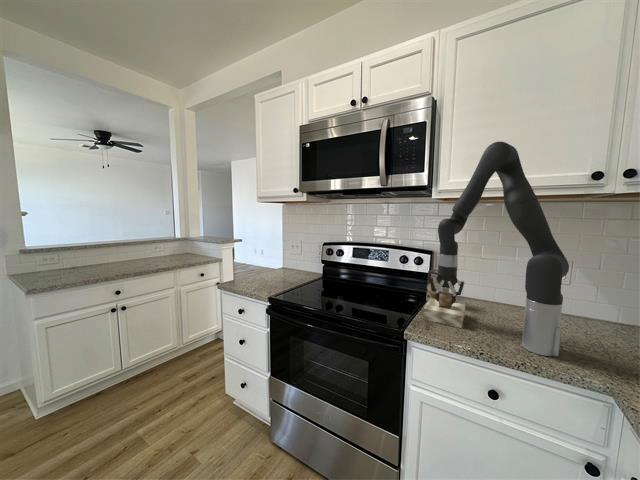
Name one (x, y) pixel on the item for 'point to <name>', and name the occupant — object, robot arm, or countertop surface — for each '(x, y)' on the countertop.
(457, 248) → the robot arm
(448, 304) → the walnut peg
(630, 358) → the countertop surface
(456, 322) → the birch block
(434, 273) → the coffee box
